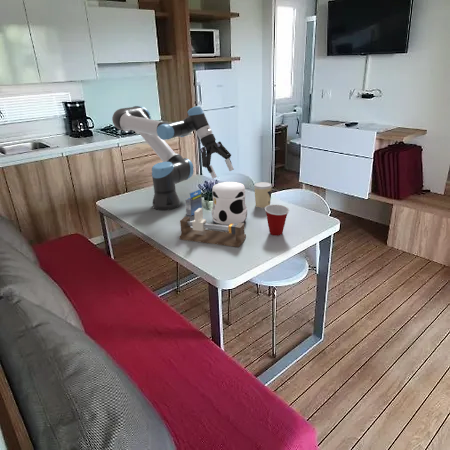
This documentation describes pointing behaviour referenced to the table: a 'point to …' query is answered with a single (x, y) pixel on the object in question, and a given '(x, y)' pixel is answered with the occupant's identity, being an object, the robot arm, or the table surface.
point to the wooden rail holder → (212, 235)
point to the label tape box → (193, 202)
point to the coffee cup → (262, 194)
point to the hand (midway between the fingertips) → (223, 174)
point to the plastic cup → (276, 218)
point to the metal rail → (218, 226)
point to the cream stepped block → (198, 220)
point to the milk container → (229, 203)
